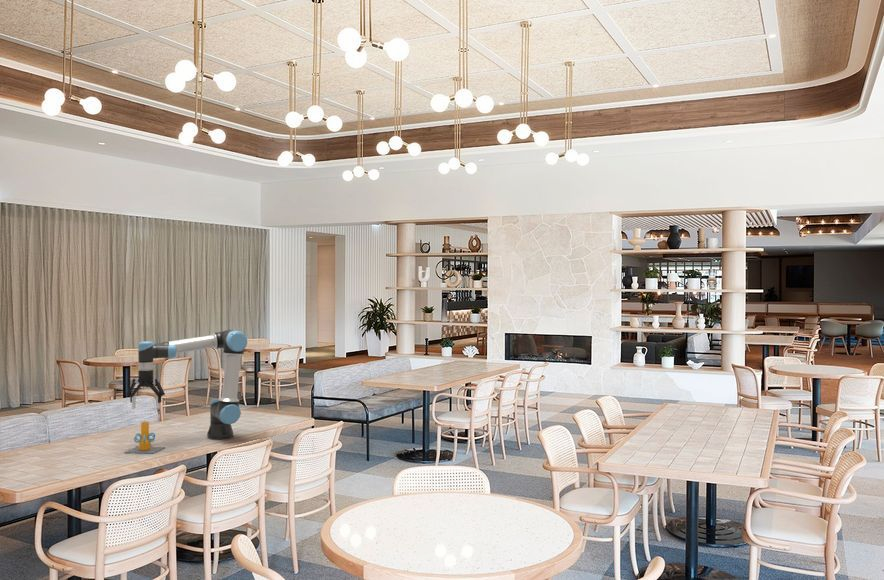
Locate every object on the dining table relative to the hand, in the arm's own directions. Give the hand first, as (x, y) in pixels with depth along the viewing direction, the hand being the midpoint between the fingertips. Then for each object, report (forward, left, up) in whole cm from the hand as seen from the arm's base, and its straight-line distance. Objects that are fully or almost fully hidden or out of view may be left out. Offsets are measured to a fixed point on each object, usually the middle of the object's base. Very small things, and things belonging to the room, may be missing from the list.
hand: (145, 408), depth 385 cm
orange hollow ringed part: (+1, 0, -23) cm, 23 cm away
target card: (0, 0, -23) cm, 23 cm away
